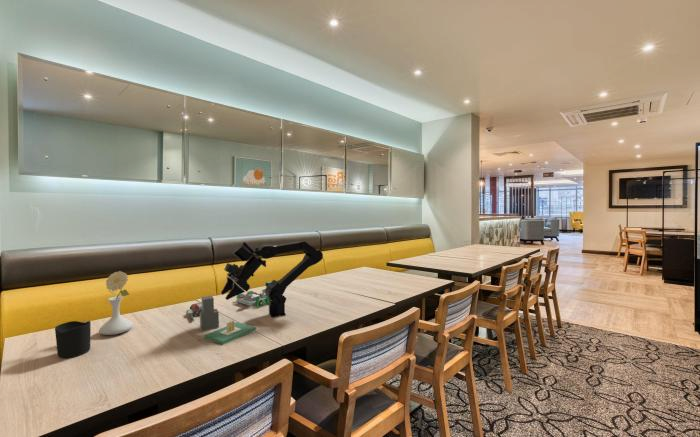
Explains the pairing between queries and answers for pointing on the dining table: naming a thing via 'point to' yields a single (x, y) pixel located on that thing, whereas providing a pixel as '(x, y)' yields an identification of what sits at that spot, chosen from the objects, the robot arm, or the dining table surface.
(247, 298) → the robot kit
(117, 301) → the flower in vase
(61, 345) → the pen holder
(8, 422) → the dining table surface
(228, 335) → the board
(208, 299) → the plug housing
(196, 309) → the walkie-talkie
